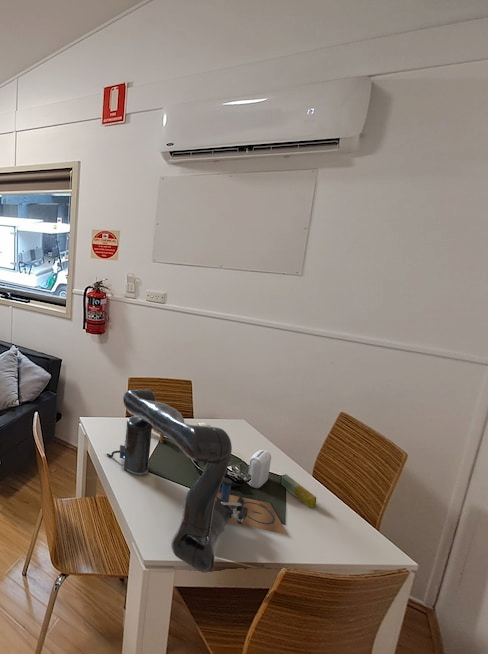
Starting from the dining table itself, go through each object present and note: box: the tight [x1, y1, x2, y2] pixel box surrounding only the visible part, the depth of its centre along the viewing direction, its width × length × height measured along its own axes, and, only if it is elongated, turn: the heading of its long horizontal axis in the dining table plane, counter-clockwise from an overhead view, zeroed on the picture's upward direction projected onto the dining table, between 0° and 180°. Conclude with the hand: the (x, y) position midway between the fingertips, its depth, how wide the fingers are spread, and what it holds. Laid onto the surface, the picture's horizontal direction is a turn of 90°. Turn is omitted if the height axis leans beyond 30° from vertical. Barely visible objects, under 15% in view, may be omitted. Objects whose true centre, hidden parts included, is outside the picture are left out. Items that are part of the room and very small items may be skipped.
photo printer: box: [246, 449, 272, 489], centre depth 141 cm, size 10×4×12 cm, turn 123°
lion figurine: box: [152, 428, 167, 444], centre depth 169 cm, size 15×5×9 cm, turn 44°
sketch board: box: [217, 492, 289, 536], centre depth 129 cm, size 20×16×1 cm
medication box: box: [280, 474, 318, 509], centre depth 135 cm, size 12×3×4 cm, turn 6°
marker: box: [220, 477, 233, 502], centre depth 126 cm, size 3×3×12 cm
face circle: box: [244, 502, 275, 524], centre depth 127 cm, size 9×9×1 cm
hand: (226, 492), depth 127 cm, fingers open, 8 cm apart
